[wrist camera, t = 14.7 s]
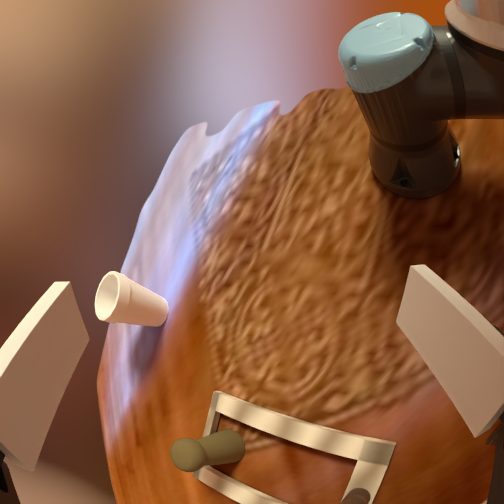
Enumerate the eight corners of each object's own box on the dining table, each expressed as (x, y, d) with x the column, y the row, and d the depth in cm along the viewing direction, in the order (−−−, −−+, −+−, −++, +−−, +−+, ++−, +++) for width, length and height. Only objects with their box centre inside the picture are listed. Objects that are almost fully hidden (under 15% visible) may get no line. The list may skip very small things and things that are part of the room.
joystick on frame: (398, 442, 27) (369, 502, 13) (354, 540, 22) (294, 615, 8) (220, 391, 43) (122, 386, 29) (199, 474, 39) (107, 491, 25)
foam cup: (180, 302, 56) (126, 283, 46) (160, 342, 55) (105, 329, 45) (157, 283, 62) (108, 264, 52) (140, 319, 61) (90, 305, 51)
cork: (216, 425, 42) (165, 430, 33) (246, 433, 38) (197, 444, 30) (213, 456, 39) (162, 467, 31) (243, 466, 36) (193, 483, 28)
